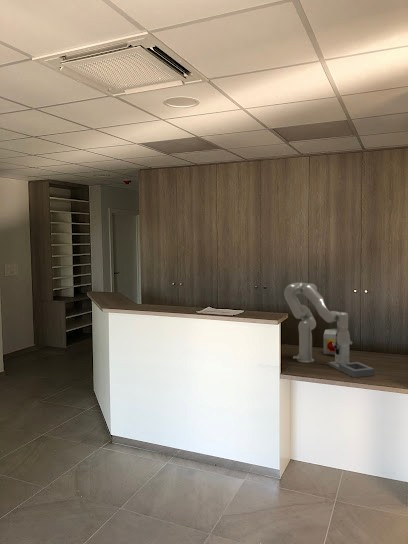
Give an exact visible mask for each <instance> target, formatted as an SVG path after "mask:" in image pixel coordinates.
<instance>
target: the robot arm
mask: <svg viewBox="0 0 408 544" xmlns="http://www.w3.org/2000/svg"><path fill="white" fill-rule="evenodd" d="M298 294H301V295H302V294H303V295H304V296H305V297H306V298H307V299H308V300H309V301H310V302H311V303H312V305H313V306H314V308H315V310H316V311H317V313H318V315H319V316H320V317H321V318H322V319H323V320H324V322H326V323H329V324H331V323H334V322H336V326H337V327H336V328H335V329H336V330H337V331H336V336H335V341H334V342H333V343H332V345H333V346H334V348H335V353H336V354H337V355H339V349H338V348H339V346H343V345H349V349H351V346H352V345H353V341H352V340H351V335H350V331H349V314H348V312H343V311H336V310H329V309H328V307H327V306H326V304H325V300H324V297H323V296H322V295H321V293H319V291H318V287H317V286H316V284H314V283H308V282H307V283H306V282H293V283H290V284H287V286H286V287H285V289H284V292H283V296H284V299H285V301H286V303H287V304H288V306H289V308H290V310H291V312H292V315H293V316H294V318H296V319H298V320H300V321H299V323H298V327H297V328H298V339H299V340H298V342H299V343H298V345H299V346H298V352H299V353H298V354H297V355H294V356H293V357H292V359H294V360H295V359H296V361H297V362H299V363H306V364H307V363H309V364H310V363H314V362H315V358H313V335H312V330H314V329H315V328H316V327H317V322H316V319H315V317H314V315H313V313H312V312H311V310H310V308H309V307H308V306H307V305H304V304H301V302H300V300H299V299H298V297H297V295H298ZM335 344H336V346H335Z"/></svg>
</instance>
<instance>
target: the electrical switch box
mask: <svg viewBox="0 0 408 544" xmlns="http://www.w3.org/2000/svg"><path fill="white" fill-rule="evenodd" d="M336 331H337V330H336V328H330V329H325V330H324V333H323V354H324V355H332V356H335V348H334V346H333V345H332V343H333V342H334V341H335V336H336Z"/></svg>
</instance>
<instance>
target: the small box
mask: <svg viewBox="0 0 408 544" xmlns="http://www.w3.org/2000/svg"><path fill="white" fill-rule="evenodd" d="M335 346H336V344H335ZM338 349H339V355H337V354H336V353H335V355H334V362H339V363H342V364H343V363H350V348H349V345H343V346H339V348H338Z"/></svg>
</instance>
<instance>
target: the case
mask: <svg viewBox="0 0 408 544" xmlns="http://www.w3.org/2000/svg"><path fill="white" fill-rule="evenodd" d="M325 365H328V366H329V367H331V368H334V369H335V370H337V371H339V372H342V373H343V372H344V373H343V374H345V373H346V374H345V375H347V374H348V375H347V376H349V375H350V376H349V377H351V376H352V378H353V377H354V378H355V377H356V378H365V377H375V373H376V372H375V371H376V370H375V368H373V367H371V366H368V365H366V364H364V363H361V362H360V361H355V362H354V361H353V362H349V363H343V364H342V363H339V362H335V361H329V362H327V361H326V364H325ZM354 378H353V379H354Z"/></svg>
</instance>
